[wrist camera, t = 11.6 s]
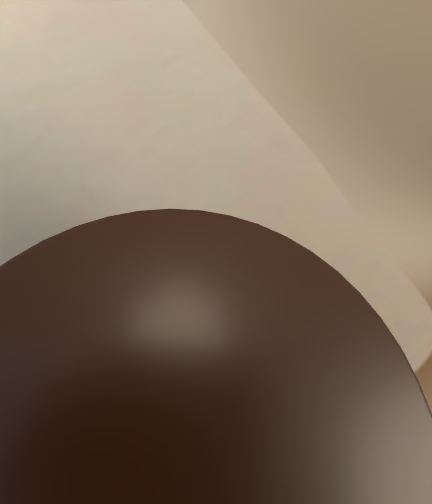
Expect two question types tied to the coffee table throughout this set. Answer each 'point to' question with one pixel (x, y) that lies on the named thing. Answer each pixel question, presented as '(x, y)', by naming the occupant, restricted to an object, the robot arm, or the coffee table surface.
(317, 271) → the brown cylinder
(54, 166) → the coffee table surface
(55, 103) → the coffee table surface
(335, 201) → the coffee table surface
